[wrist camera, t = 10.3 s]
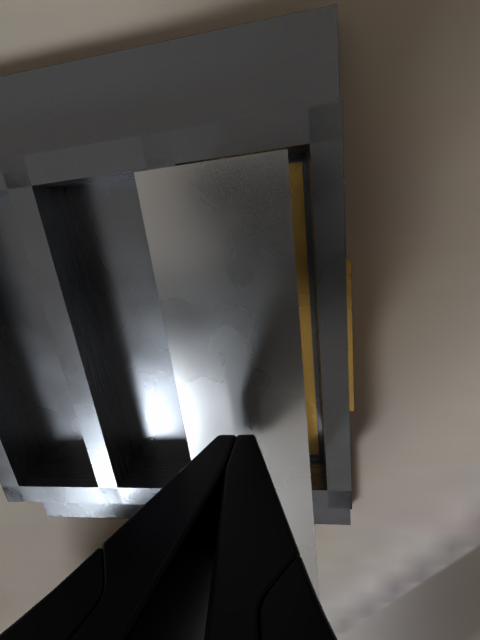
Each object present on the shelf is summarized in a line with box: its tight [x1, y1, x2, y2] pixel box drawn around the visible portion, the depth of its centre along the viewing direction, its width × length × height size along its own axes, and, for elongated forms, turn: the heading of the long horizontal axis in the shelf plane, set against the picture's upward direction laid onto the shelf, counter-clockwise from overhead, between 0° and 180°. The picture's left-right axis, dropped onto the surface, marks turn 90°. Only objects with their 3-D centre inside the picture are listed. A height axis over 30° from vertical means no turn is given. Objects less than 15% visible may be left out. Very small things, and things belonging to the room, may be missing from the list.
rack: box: [0, 4, 354, 525], centre depth 15 cm, size 22×18×3 cm
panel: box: [134, 149, 320, 602], centre depth 12 cm, size 12×3×7 cm, turn 7°
